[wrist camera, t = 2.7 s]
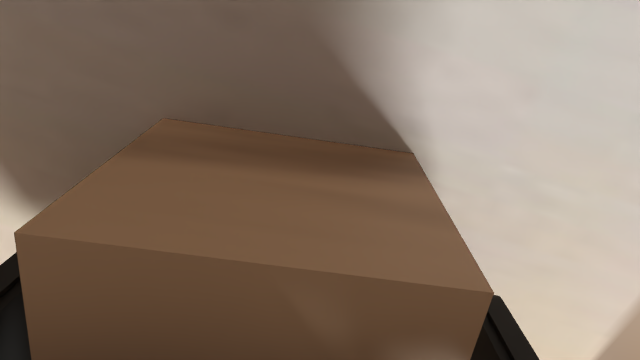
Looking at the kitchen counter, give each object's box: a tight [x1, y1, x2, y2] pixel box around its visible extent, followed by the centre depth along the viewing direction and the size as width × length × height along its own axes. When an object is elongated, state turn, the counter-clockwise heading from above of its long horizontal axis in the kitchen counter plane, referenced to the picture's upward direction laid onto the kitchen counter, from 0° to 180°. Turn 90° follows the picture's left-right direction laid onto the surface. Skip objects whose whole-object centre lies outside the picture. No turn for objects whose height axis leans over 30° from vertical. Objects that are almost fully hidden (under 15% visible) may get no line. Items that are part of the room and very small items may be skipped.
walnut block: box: [14, 118, 494, 360], centre depth 10 cm, size 6×6×6 cm
